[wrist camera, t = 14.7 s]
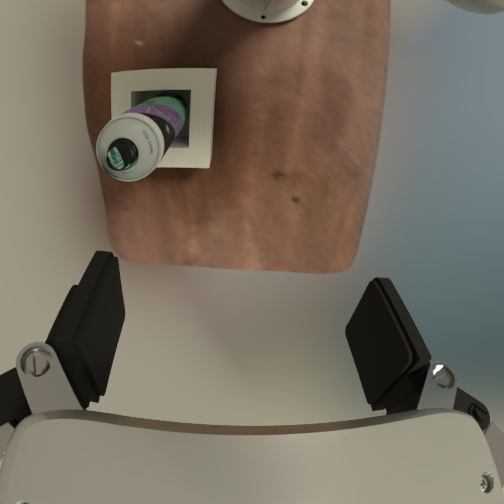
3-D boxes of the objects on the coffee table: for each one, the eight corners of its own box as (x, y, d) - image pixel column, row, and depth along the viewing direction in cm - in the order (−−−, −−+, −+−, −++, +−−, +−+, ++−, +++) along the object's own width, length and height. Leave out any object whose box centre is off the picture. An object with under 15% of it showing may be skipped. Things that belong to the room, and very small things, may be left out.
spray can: (174, 139, 37) (132, 208, 21) (139, 119, 35) (72, 173, 19) (197, 105, 35) (169, 146, 19) (162, 84, 33) (102, 107, 17)
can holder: (126, 70, 32) (111, 72, 28) (217, 68, 33) (215, 68, 29) (127, 154, 39) (114, 167, 34) (211, 155, 40) (209, 168, 36)
